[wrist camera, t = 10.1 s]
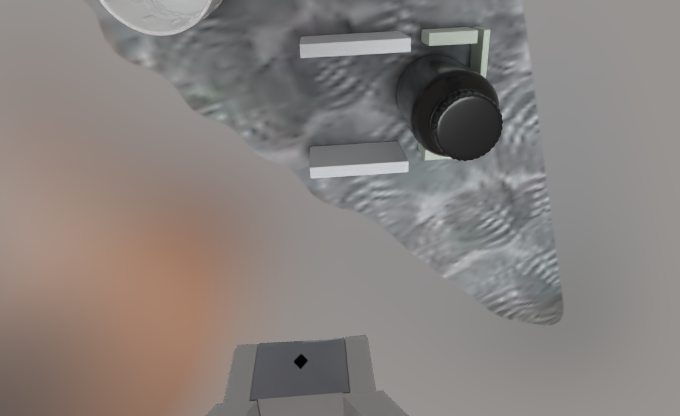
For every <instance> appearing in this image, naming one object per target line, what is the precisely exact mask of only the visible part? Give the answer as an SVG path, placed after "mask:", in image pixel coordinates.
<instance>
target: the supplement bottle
mask: <svg viewBox="0 0 680 416" xmlns="http://www.w3.org/2000/svg"><path fill="white" fill-rule="evenodd" d="M396 101H397V106H398V109H399V111H400V113H401V115H402V117H403V118H404V120H405V122H406V123H407V125H408V126H409V128H410V130H411V131H412V133H413V135H414V136H415V138H416V139H417V141H418V142H419V143H420V144H421V145H422V146H423V147H424V148H425V149H426V150H428V151H429V152H431V153H433V154H436V155H439V156H443V157H451V158H452V159H457V160H459V161H460V160H463V161H467V160H473V159H475V158H479V157H480V156H483V155H485V154H486V153H487V152H489V151H490V150H491V148H493V147H494V146H495V143H496V142H497V141H498V139H499V137H500V135H501V130H502V123H503V121H502V115H501V113H500V109H499V101H498V97H497V94H496V91H495V89H494V88H493V86H492V85H491V83H490V82H489V81H488V80H487V79H486V78H484V77H483V76H482V75H480V74H479V73H477V72H475V71H474V70H472V69H470V68H468V67H467V66H465V65H463V64H462V63H460V62H458V61H456V60H454V59H452V58H450V57H447V56H443V55H429V56H425V57H422V58H420V59H418V60H416V61H415V62H413V63H412V64H411V65H410V66H408V67H407V69H406V70H405V71H404V72H403V74H402V75H401V77H400V79H399V82H398V85H397V90H396Z"/></svg>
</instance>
